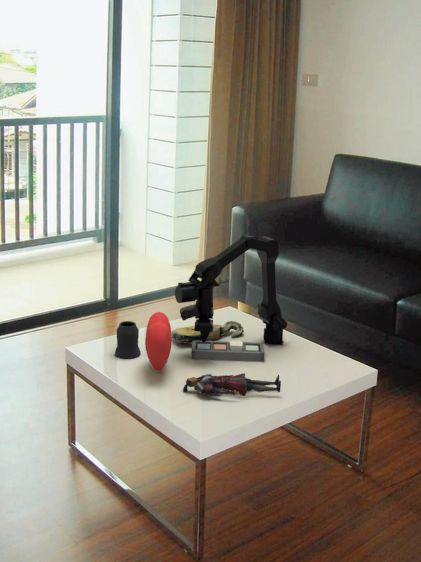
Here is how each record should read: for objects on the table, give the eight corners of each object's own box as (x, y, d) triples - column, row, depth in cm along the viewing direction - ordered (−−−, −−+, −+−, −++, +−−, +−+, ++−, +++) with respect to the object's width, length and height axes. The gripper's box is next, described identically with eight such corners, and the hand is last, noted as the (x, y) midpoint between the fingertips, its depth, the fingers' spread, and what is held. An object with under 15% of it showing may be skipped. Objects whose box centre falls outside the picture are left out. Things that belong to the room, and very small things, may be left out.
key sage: (257, 352, 261) (258, 345, 260) (258, 356, 257) (258, 350, 256) (245, 351, 261) (245, 345, 260) (245, 356, 257) (245, 350, 256)
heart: (146, 359, 253) (146, 307, 248) (171, 359, 254) (172, 307, 248) (143, 383, 234) (144, 328, 229) (171, 384, 234) (172, 328, 229)
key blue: (210, 350, 261) (210, 344, 260) (209, 355, 257) (210, 348, 256) (197, 350, 261) (197, 343, 260) (197, 354, 257) (197, 348, 256)
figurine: (282, 386, 223) (182, 383, 222) (280, 404, 225) (182, 400, 224) (277, 369, 235) (183, 366, 234) (276, 386, 237) (182, 383, 236)
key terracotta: (225, 350, 261) (226, 344, 260) (226, 355, 257) (226, 349, 256) (213, 350, 261) (213, 344, 260) (213, 355, 257) (213, 348, 256)
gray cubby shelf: (262, 350, 264) (262, 342, 263) (264, 361, 254) (264, 353, 253) (192, 348, 264) (192, 340, 263) (191, 359, 254) (191, 351, 253)
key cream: (241, 347, 261) (242, 341, 260) (242, 352, 256) (242, 345, 256) (229, 347, 261) (229, 340, 260) (229, 351, 256) (229, 345, 256)
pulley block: (251, 323, 272) (175, 333, 260) (252, 339, 272) (175, 349, 261) (235, 317, 284) (161, 325, 273) (235, 331, 285) (162, 341, 274)
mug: (141, 358, 253) (142, 328, 250) (115, 359, 252) (114, 328, 249) (139, 345, 265) (139, 316, 261) (113, 346, 263) (113, 316, 260)
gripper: (182, 290, 262) (182, 331, 267) (179, 307, 244) (179, 351, 249) (214, 291, 262) (212, 332, 267) (213, 308, 244) (212, 352, 249)
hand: (203, 341), depth 258 cm, fingers closed
